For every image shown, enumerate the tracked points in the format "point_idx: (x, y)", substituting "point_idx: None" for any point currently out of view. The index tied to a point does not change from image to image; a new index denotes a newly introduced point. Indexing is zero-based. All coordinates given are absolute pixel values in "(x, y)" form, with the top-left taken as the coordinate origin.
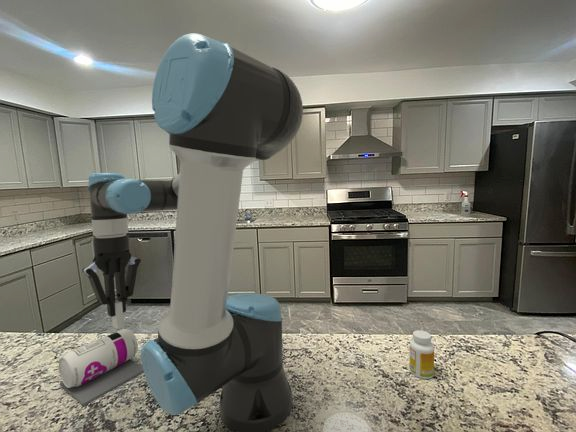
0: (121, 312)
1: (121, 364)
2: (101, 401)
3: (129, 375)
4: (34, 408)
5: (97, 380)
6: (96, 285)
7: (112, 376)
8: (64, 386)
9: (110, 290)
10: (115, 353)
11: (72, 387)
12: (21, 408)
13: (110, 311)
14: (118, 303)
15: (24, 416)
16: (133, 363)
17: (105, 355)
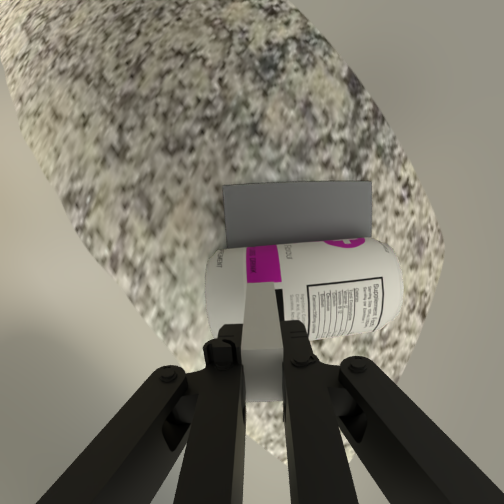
0: (251, 315)
1: None
2: (341, 161)
3: (264, 194)
4: (414, 261)
5: None
6: (458, 457)
7: (292, 228)
8: None
9: (330, 427)
10: (283, 250)
11: None
12: (422, 281)
13: (305, 336)
14: (265, 347)
15: (427, 250)
16: (232, 241)
17: (313, 252)
